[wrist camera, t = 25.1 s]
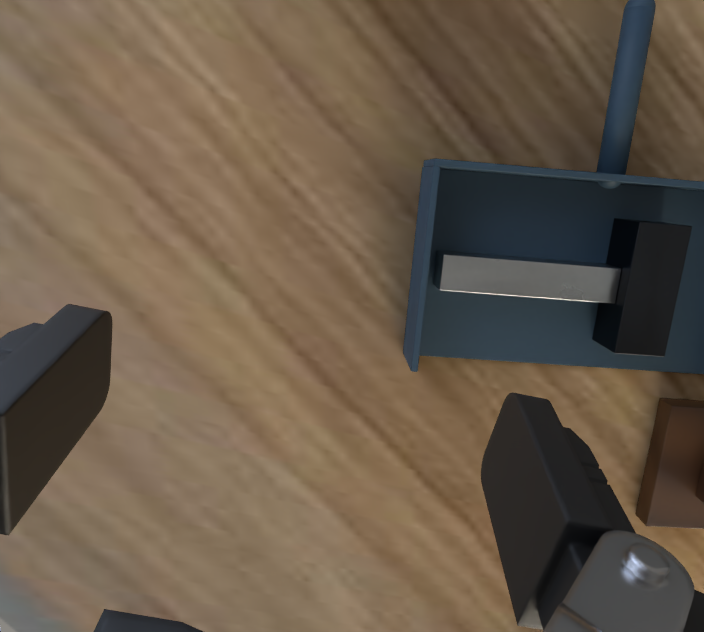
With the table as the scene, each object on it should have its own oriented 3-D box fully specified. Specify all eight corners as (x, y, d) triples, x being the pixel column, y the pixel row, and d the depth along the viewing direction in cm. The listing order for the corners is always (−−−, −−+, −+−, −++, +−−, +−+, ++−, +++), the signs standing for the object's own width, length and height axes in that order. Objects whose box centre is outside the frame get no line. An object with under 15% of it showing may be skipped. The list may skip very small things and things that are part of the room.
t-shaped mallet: (427, 327, 38) (436, 341, 35) (442, 203, 36) (452, 205, 33) (638, 342, 39) (665, 357, 36) (662, 222, 37) (693, 226, 34)
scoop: (717, 373, 40) (757, 393, 36) (402, 352, 39) (410, 371, 35) (798, 23, 35) (855, 5, 32) (441, -14, 34) (455, -38, 30)
